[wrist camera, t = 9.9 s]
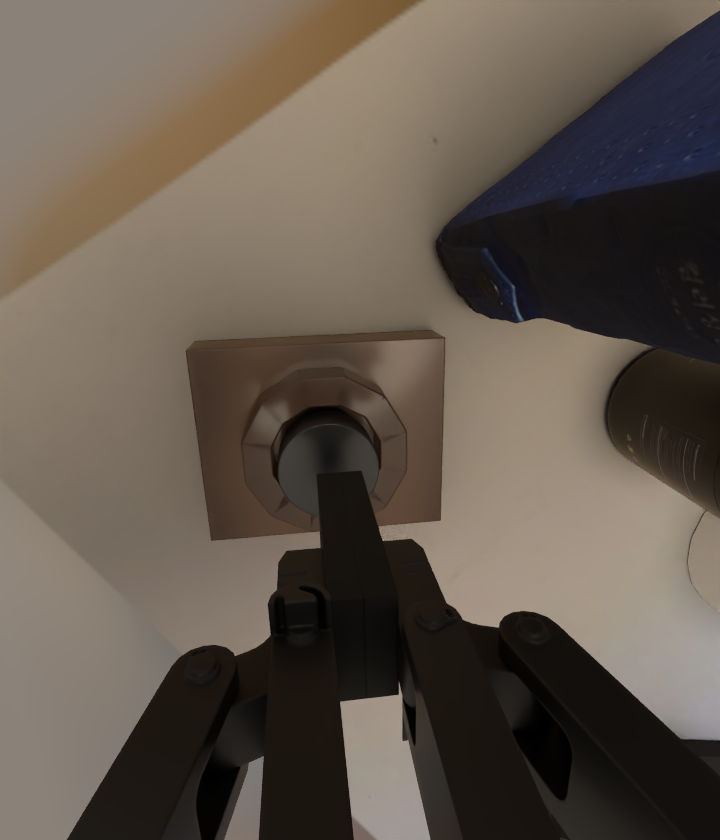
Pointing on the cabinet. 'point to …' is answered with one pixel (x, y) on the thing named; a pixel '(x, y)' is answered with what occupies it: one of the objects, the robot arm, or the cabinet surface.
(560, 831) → the red lever
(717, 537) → the mug
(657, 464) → the supplement bottle
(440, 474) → the switch block
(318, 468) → the button
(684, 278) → the blue zippered case
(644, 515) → the cabinet surface
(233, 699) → the robot arm
